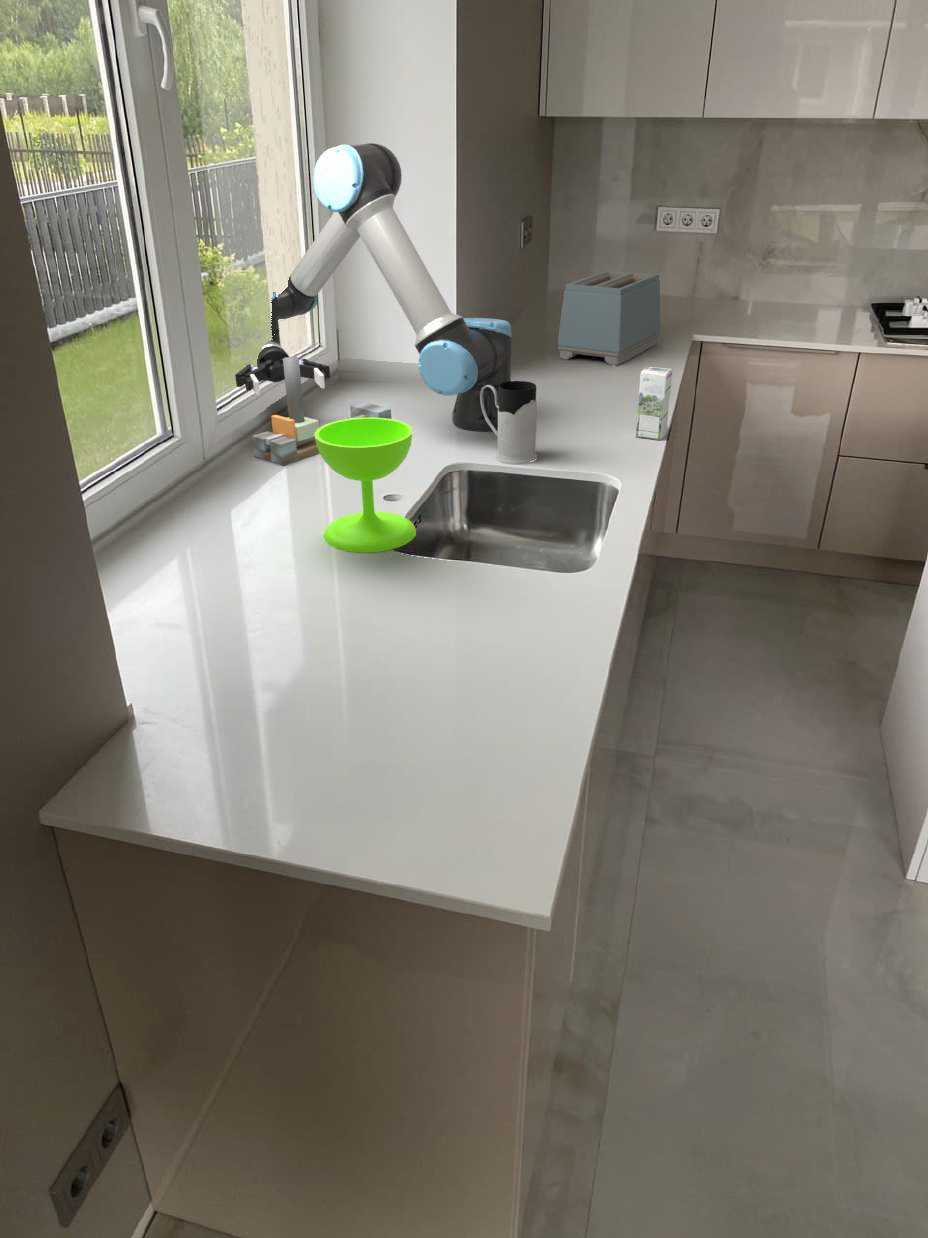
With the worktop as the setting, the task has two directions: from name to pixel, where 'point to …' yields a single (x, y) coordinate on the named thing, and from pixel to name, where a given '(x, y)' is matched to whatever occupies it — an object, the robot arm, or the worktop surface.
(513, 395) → the glass holder
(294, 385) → the carriage
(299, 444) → the rail base
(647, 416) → the syrup box
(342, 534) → the wineglass
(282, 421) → the orange block
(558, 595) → the worktop surface
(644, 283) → the toaster
